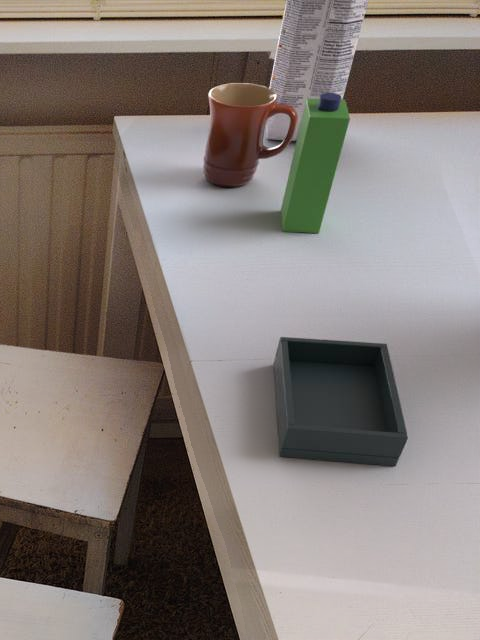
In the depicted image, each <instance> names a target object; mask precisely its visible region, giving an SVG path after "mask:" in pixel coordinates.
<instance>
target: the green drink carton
mask: <svg viewBox="0 0 480 640" xmlns="http://www.w3.org/2000/svg"><path fill="white" fill-rule="evenodd" d="M350 120H351V117H350V113H349V109H348V105H347V101H346V99H342V100H341V96H340V95H338V94H335V93H324V94H321V95H320V98H319V99H306V103H305V107H304V111H303V116H302V120H301V124H300V129H299V133H298V138H297V141H295V147H294V151H293V155H292V160H291V164H290V168H289V172H288V178H287V181H286V186H285V190H284V194H283V198H282V203H281V206H280V207H281V208H280V218H281V226H282V229H281V230H282V232H284V233H285V232H287V233H288V232H289V233H306V234H307V233H310V234H320V231H321V228H322V223H323V221H324V216H325V212H326V209H327V205H328V201H329V198H330V194H331V190H332V187H333V184H334V179H335V175H336V172H337V168H338V164H339V161H340V157H341V155H342V154H341V153H342V150H343V146H344V142H345V139H346V136H347V132H348V128H349V124H350Z"/></svg>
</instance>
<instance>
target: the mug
mask: <svg viewBox="0 0 480 640" xmlns="http://www.w3.org/2000/svg"><path fill="white" fill-rule="evenodd" d="M276 100H277V94H276V93H275V92H274V91H273V90H271V89H269V87H267V86H264V85H260V84H255V83H247V82H237V83H236V82H231V83H225V84H221V85H217V86H215V87H213V88H211V89H210V90H209V92H208V104H209V127H208V131H207V132H208V133H207V137H206V144H205V149H204V156H203V158H202V159H203V164H202V168H203V177H205V179H206V180H207V181H208V182H210V183H211V184H213V185H216V186H219V187H224V188H225V187H226V188H234V187H235V188H236V187H241V186H244V185H246V184H248V183H250V182H251V181H252V180H253V179H254V177H255V174H256V172H257V170H258V166H259V164H260V160H265V159H270V158H273V157H275V156H278V155H280V154H281V153H282V152H284V151H285V150H286V149H287V147H288V146H289V145H290V143H291V142H292V141H291V140H292V138H293V136H294V133H295V130H296V127H297V121H298V115H297V112H296V110H295V109H294V108H293V107H291V106H289V105H284V104H277V103H276ZM276 114H287V115H288V116H289V117H290V126H289V129H288V132H287V135H286V137H285V139H284V140H282V142H280V143H279V144H278V145H276V146H272V147H268V146H265V145H264V135H265V131H266V122H267V120H268V118H270V117H272V116H274V115H276Z"/></svg>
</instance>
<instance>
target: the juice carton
mask: <svg viewBox="0 0 480 640" xmlns="http://www.w3.org/2000/svg"><path fill="white" fill-rule="evenodd" d="M368 3H369V0H286V2H285V6H284V12H283V16H282V21H281V27H280V31H279V32H280V33H279V37H278V42H277V47H276V52H275V56H274V57H275V58H274V61H273V68H272V72H271V78H270V83H269V87H268V88H269V89H271V90H273V91H274V92H275V93H276V94H277V100H276V103H277V104H284V105H289V106H291V107H293V108H294V109H295V110H296V112H297V115H298V121H297V127H296V130H295V133H294V136H293V138H292V140H291V141H290V142H297V138H298V133H299V129H300V124H301V120H302V116H303V111H304V107H305V103H306V99H319V98H320V95H321V94H324V93H335V94H338V95H340V96H341V100H344V96H345V92H346V88H347V85H348V84H347V83H348V80H349V77H350V73H351V69H352V65H353V61H354V57H355V54H356V51H357V46H358V42H359V38H360V35H361V30H362V27H363V23H364V19H365V15H366V11H367V7H368ZM289 126H290V117H289V116H288V115H287V114H276V115H274V116H272V117H270V118H268V120H267V122H266V126H265V134H266V139H267V140H273V141H284V139H285V137H286V135H287V132H288V129H289Z"/></svg>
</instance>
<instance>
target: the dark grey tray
mask: <svg viewBox="0 0 480 640" xmlns="http://www.w3.org/2000/svg"><path fill="white" fill-rule="evenodd" d="M272 363H273V364H272V367H273V381H274V397H275V398H274V399H275V410H276V411H275V412H276V425H277V426H276V427H277V428H276V429H277V441H278V442H277V443H278V455H279V457H280V458H293V459H304V460H314V461H315V460H317V461H330V462H339V463H351V464H352V463H354V464H364V465H374V466H375V465H378V466H389V467H396V466H397V464H398V462H399V460H400V457H401V455H402V453H403V451H404V448H405V446H406V444H407V441H408V439H409V436H408V432H407V431H408V430H407V427H406V423H405V418H404V414H403V409H402V404H401V400H400V395H399V391H398V387H397V383H396V378H395V373H394V369H393V365H392V362H391V357H390V353H389V348H388V344H387V343H381V342H366V341H353V340H351V341H350V340H337V339H336V340H335V339H320V338H305V337H304V338H303V337H291V336H290V337H289V336H280V337H279V341H278V344H277V348H276V352H275V357H274V360H273V362H272Z"/></svg>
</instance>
